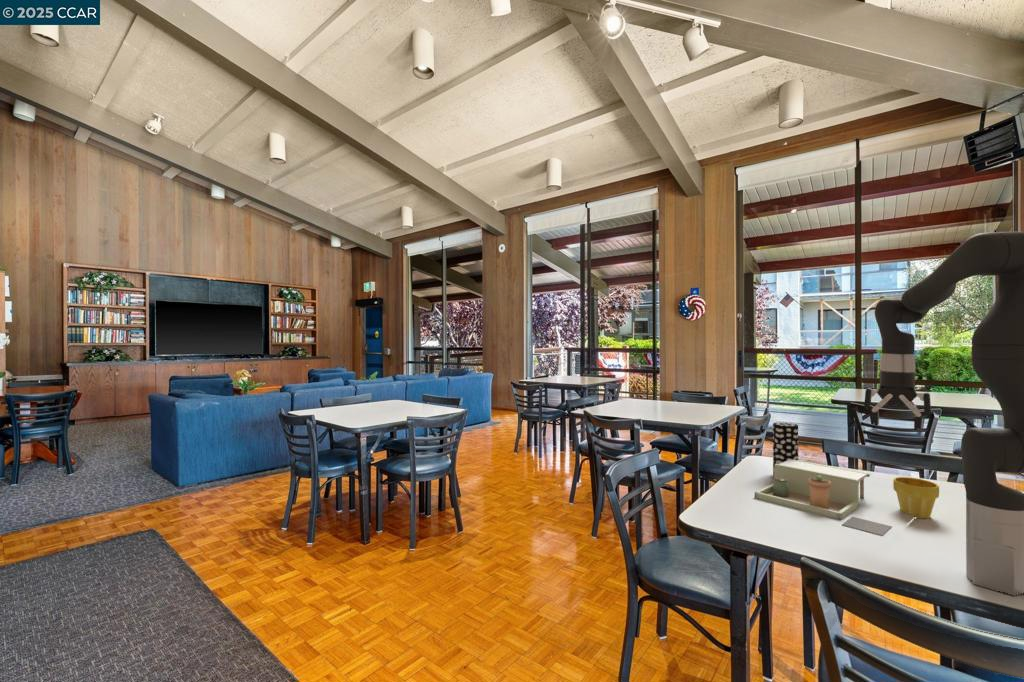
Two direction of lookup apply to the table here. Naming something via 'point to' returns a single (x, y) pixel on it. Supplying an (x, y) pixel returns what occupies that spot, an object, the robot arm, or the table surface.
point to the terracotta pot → (819, 492)
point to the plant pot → (916, 495)
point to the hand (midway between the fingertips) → (895, 427)
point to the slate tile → (867, 526)
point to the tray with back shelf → (797, 474)
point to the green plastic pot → (781, 487)
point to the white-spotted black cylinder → (784, 442)
